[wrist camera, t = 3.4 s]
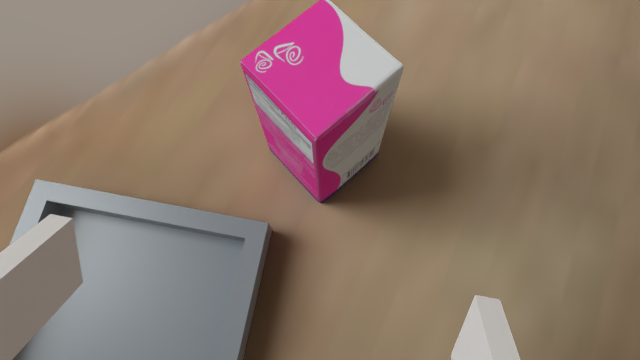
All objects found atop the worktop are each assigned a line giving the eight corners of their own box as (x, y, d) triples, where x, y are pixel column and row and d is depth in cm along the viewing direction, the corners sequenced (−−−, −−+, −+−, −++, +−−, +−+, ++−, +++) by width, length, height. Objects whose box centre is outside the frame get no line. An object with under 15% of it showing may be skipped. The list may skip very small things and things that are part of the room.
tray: (272, 229, 29) (268, 222, 27) (214, 489, 25) (203, 506, 23) (57, 189, 30) (35, 179, 28) (-36, 433, 26) (-71, 445, 23)
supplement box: (324, 99, 32) (327, -10, 21) (379, 154, 31) (413, 68, 20) (265, 147, 31) (236, 58, 20) (319, 206, 30) (320, 145, 19)
